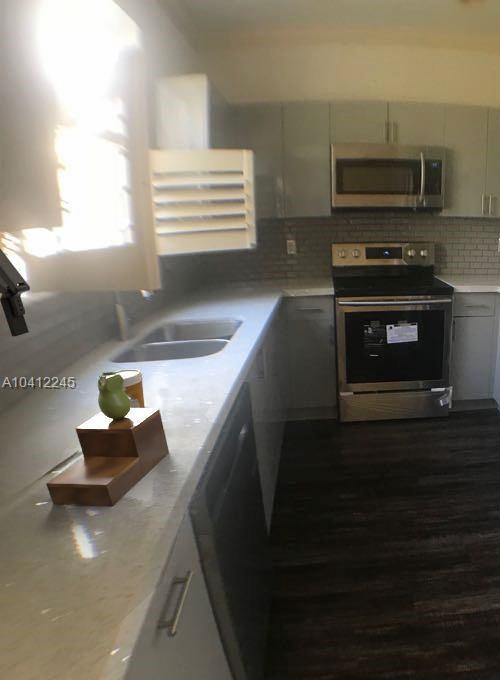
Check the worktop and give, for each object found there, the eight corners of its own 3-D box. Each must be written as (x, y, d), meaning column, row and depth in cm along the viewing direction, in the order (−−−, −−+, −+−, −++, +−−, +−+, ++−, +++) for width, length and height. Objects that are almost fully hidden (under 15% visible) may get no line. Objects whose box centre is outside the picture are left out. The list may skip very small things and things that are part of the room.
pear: (120, 411, 99) (109, 367, 95) (139, 413, 97) (128, 369, 94) (98, 422, 94) (84, 376, 90) (117, 425, 92) (104, 378, 89)
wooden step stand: (53, 504, 86) (35, 453, 82) (119, 451, 105) (107, 408, 101) (112, 506, 85) (97, 454, 81) (169, 452, 104) (159, 408, 100)
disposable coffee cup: (122, 410, 127) (111, 369, 123) (157, 408, 128) (148, 367, 124) (105, 425, 119) (93, 381, 114) (143, 422, 119) (132, 379, 115)
